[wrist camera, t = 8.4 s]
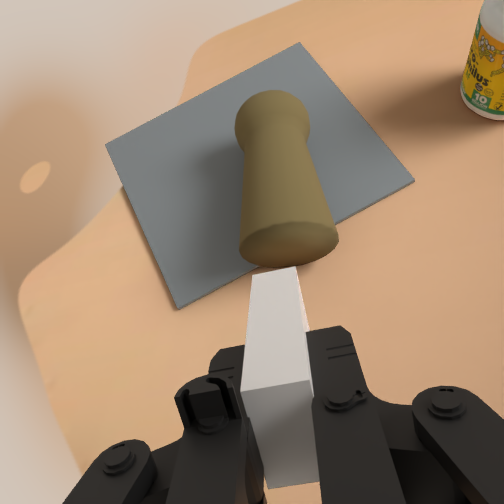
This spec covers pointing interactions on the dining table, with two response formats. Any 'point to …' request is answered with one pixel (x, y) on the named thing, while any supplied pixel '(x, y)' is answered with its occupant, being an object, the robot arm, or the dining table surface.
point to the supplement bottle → (486, 64)
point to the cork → (280, 185)
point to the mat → (240, 170)
